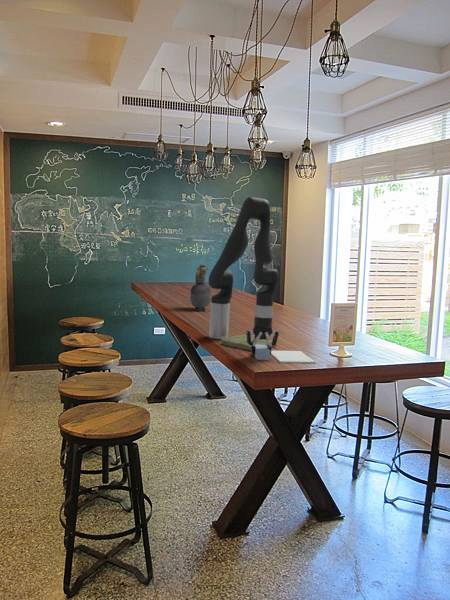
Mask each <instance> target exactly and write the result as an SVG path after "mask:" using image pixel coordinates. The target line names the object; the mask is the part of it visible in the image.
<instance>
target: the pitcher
mask: <svg viewBox="0 0 450 600" xmlns="http://www.w3.org/2000/svg"><path fill="white" fill-rule="evenodd" d="M208 269H209V268H208V267H206V266H205V265H204V264H201V263H199V267H196V273H195V277H194V278H195V284H193V285H192V287H191V288H190V294H189V295H190V303H191V305H192V306H193V309H194V311H198V312H199V311H200V312H201V311H202V312H204V311H206V308H207V307H208V306H209V305H211V298H212V296H211V295H212V293H211V289H210V288H211V287H210V286H209V285H207V284H206V277H207V276H206V275H207V273H206V272H207V270H208Z"/></svg>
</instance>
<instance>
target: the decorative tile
mask: <svg viewBox="0 0 450 600" xmlns="http://www.w3.org/2000/svg"><path fill="white" fill-rule="evenodd" d="M254 337H255V335H251V342H252V341H253V339H254ZM220 340H221V341H220V344H221V345H223V346H228V347H231V348H235V347H236V349H240V350H244V349H245V350H244V351H248V350H249V352H251V347H252V346H251V345H249V344H248V343H247V334H240V335H233V336H228V337H227V338H225V339H220ZM272 341H273V340H271V342H272ZM256 344H258V345H266V346H268V343H267V341H266V340H264V339H261V340H258V342H257V343H256ZM274 348H277V344H276V345H273V346H272V349H274Z"/></svg>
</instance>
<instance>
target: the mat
mask: <svg viewBox="0 0 450 600" xmlns="http://www.w3.org/2000/svg"><path fill="white" fill-rule="evenodd" d="M270 355H271V356H272V357H273V358H274V359H275V360H277V361H278V362H279V363H281V364H283V363H284V364H294V363H295V364H316V361H315V360H313V359H312V358H311V357H310V356H308V355H307V354H306V353H304V352H303V351H301V350H271V354H270Z"/></svg>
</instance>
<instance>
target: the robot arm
mask: <svg viewBox="0 0 450 600" xmlns="http://www.w3.org/2000/svg"><path fill="white" fill-rule="evenodd" d="M251 220H256V221H257V220H258V221H259V225H260V227H259V231H258V233H257V236H256V238H255V241H254V243H253V251H254V258H255V262H254V263H255V264H254V272H253V281H254V282H255V284H256V285H258V286H266V288H265V289H262V290H259V291H257V293H256V301H255V309H254V321H253V322H254V323H253V324H254V325H253V329H250V330H249V329H246V332H245V333H246V334H245V335H247V343H248V344H249V345H251V346H252V347H251V351H250V352H251V354H252V355H253V356H254V355H255V348H256V346H255V345H256V343H257V342H258V340H261V339H264V340H266V341H267V343H268V346H267V347H268V349H269V350H270V355H271V351H272V349H273V348H272V346H273V345H276V346H277V343H278V337H279V335H280V334H279V331H278V330H273V316H274V314H273V312H274V310H273V309H274V308H273V307H274V295H275V292H276V289H277V286H278V284H279V281H280V274H279V271H278V270H277V269H276V268H264V266H266V265H269V264H271V263H272V262H273V254H272V247H271V240H270V239H271V238H270V237H271V207H270V202H269V200H267V199H265V198H262V197H261V198H260V197H254V196H248V197H246V199H244V201H243V203H242V206H241V208H240V211H239V214H238V217H237V219H236V222H235V225H234V226H233V229H232V231H231V232H230V235H229V236H228V239H227V240H226V243H225V245H224V248H223V250H222V252H221V254H220V256H219V258H218V260H217V261H216V263H215V264H214V266H213V268H212V269H211V271H210V273H209V275H208V287H209V288H211V289H215V290H219V289H220V291H219V292H217V293H215V294H214V295H212V296H211V298H210V317H209V329H208V331H209V333H208V334H209V335H208V337H209V338H211V339H214V340H215V339H216V340H222V339H225V338H227V337H229V325H230V309H231V308H230V306H231V299H232V297H233V296H232V295H233V288H234V274H233V272H232V271H231V270H230V269H229V268H230V267H231V266H232V265H233V264H235V263H236V262H237V261H238V260H240V259H241V258H242V256H243V255H244V253H245V252H246V249H247V248H248V245H249V236H248V231H247V226H248V223H249V222H250V221H251ZM252 334H254V335H252ZM251 336H255V337H254V339H253V341H252V342H251ZM271 336H272V340H271V338H270V337H271ZM271 341H272V342H271Z"/></svg>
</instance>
